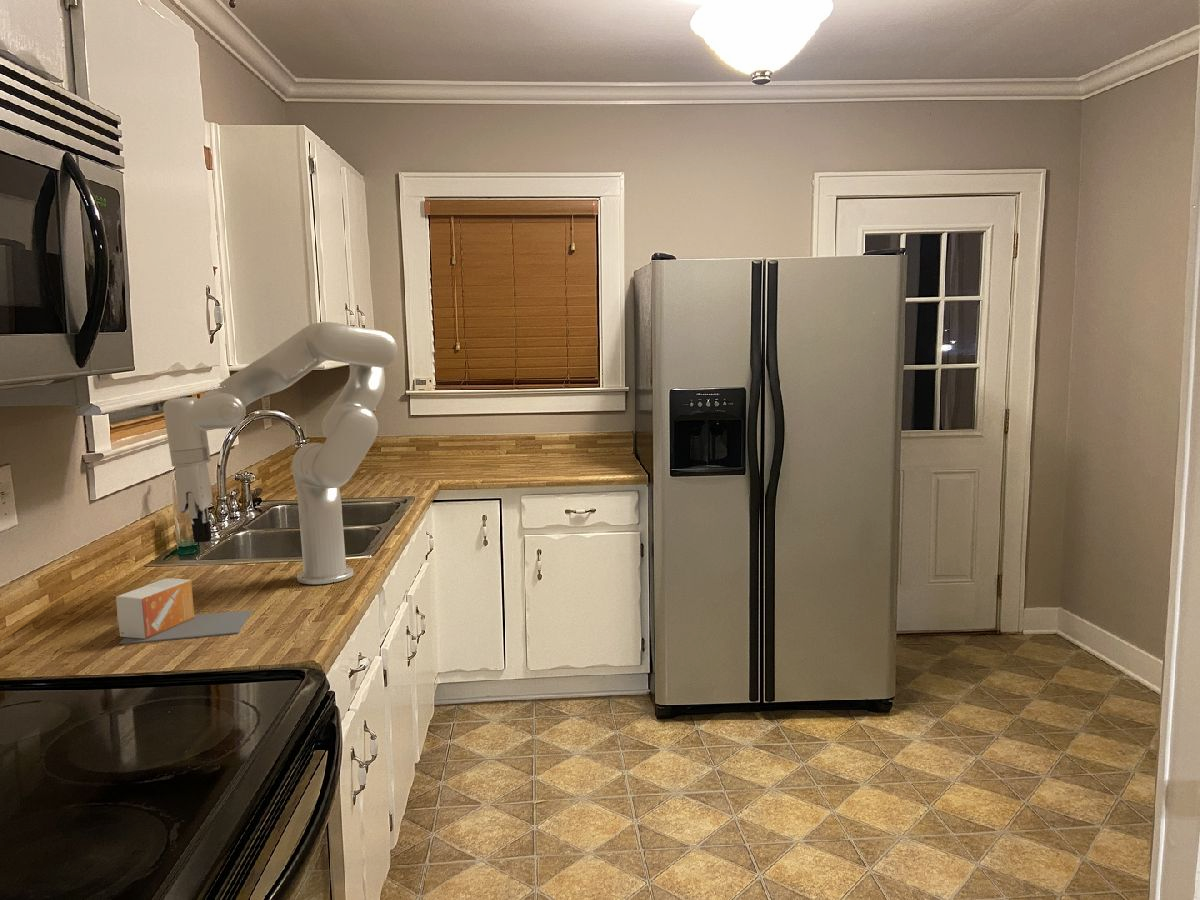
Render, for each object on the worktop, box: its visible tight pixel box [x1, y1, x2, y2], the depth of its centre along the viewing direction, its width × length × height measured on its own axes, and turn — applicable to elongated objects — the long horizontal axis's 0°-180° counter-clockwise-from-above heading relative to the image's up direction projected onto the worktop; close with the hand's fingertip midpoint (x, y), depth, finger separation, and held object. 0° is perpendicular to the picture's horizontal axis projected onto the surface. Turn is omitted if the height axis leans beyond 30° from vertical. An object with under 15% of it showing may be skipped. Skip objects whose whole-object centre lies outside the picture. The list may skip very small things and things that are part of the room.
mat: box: [118, 609, 253, 645], centre depth 173 cm, size 14×21×1 cm, turn 101°
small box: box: [115, 577, 196, 639], centre depth 172 cm, size 8×6×13 cm
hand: (203, 540), depth 188 cm, fingers closed
